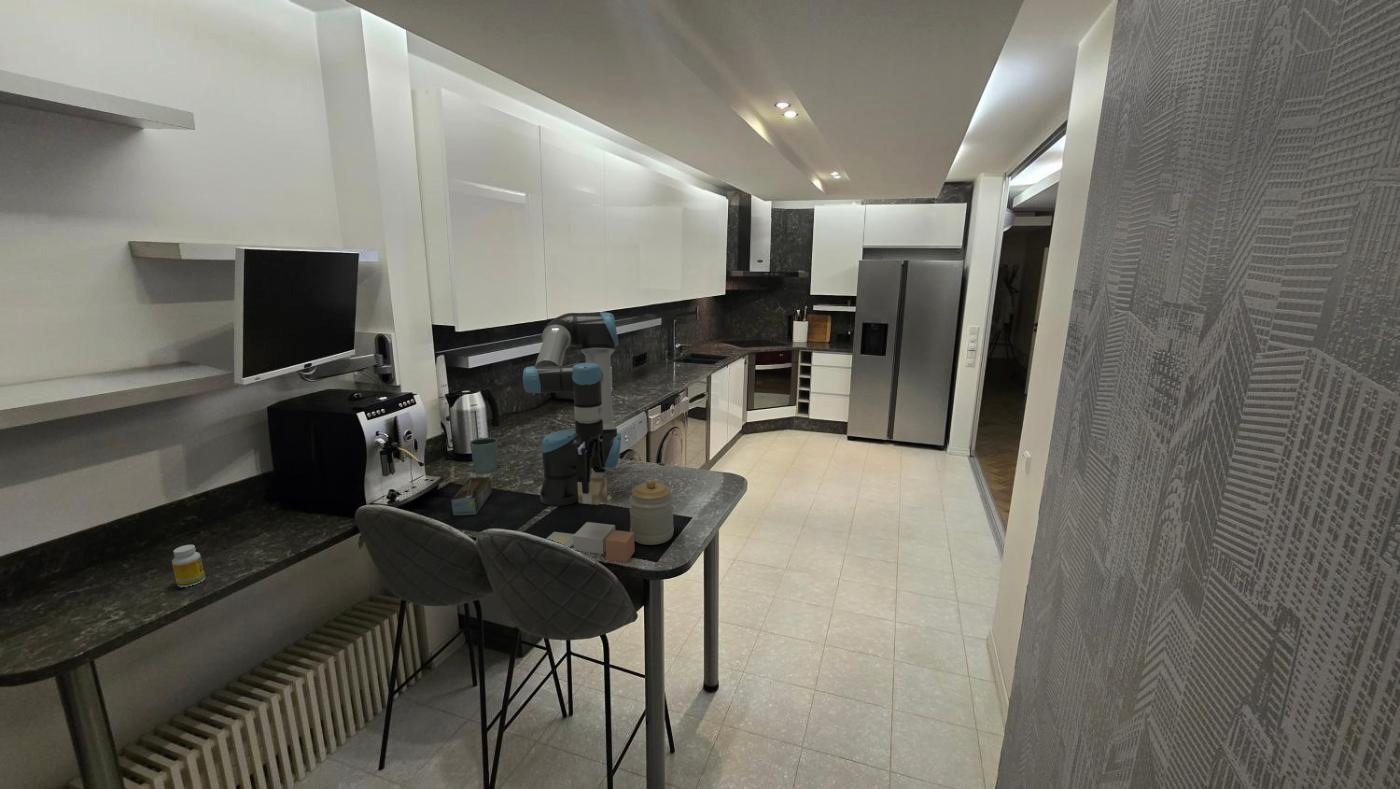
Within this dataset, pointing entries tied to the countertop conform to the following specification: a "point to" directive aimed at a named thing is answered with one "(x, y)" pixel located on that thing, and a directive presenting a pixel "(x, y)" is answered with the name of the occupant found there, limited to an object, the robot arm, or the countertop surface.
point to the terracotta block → (620, 546)
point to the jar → (651, 513)
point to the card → (562, 538)
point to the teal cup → (484, 454)
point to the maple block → (595, 489)
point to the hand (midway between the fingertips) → (592, 498)
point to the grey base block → (592, 537)
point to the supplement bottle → (187, 566)
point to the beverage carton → (471, 496)
